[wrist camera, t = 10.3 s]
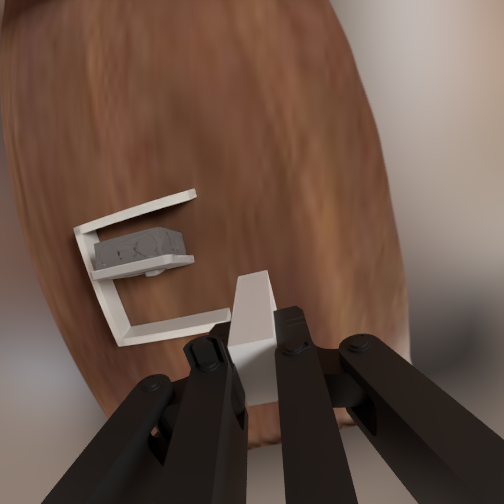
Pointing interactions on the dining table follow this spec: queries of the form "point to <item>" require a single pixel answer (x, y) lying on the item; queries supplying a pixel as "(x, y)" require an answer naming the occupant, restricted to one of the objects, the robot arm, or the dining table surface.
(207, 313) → the u-shaped bracket
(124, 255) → the electrical switch
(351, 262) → the dining table surface
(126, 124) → the dining table surface
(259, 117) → the dining table surface
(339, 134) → the dining table surface
